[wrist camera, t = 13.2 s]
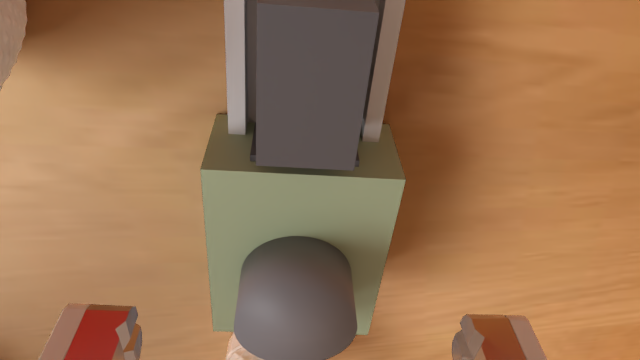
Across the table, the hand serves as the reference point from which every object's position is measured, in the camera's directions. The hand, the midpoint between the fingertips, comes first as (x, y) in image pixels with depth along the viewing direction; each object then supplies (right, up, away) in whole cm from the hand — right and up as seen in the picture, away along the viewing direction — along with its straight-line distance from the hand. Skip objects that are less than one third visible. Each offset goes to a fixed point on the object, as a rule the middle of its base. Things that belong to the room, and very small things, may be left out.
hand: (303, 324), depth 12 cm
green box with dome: (-1, +6, +19) cm, 20 cm away
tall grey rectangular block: (0, +11, +14) cm, 18 cm away
